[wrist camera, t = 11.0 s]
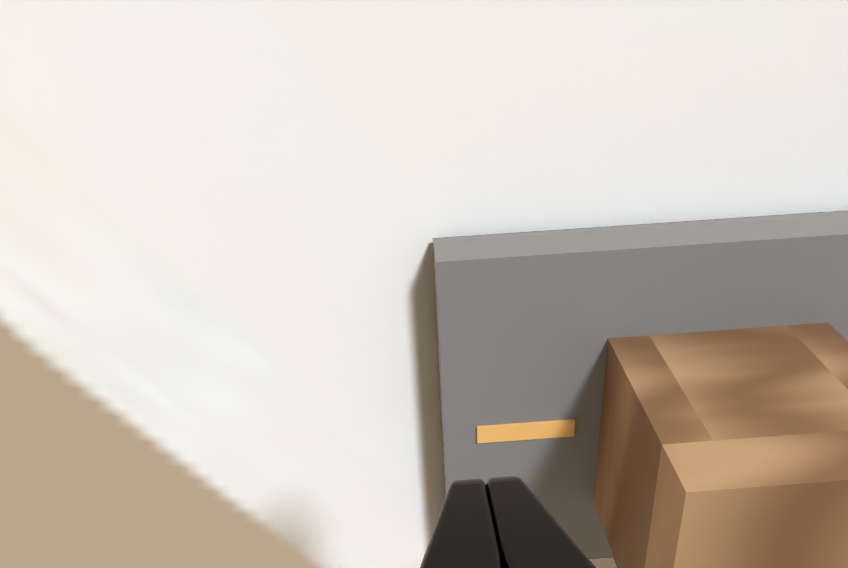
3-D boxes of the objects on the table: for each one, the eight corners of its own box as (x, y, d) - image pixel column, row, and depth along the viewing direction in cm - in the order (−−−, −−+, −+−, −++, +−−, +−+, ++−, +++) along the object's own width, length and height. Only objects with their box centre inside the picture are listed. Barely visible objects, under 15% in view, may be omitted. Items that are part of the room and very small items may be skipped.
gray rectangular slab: (984, 201, 20) (1028, 223, 19) (877, 503, 26) (905, 537, 25) (433, 238, 20) (436, 263, 19) (447, 535, 26) (450, 571, 25)
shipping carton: (828, 322, 20) (989, 476, 15) (785, 486, 24) (906, 663, 18) (608, 338, 20) (689, 499, 15) (593, 500, 23) (657, 683, 18)
